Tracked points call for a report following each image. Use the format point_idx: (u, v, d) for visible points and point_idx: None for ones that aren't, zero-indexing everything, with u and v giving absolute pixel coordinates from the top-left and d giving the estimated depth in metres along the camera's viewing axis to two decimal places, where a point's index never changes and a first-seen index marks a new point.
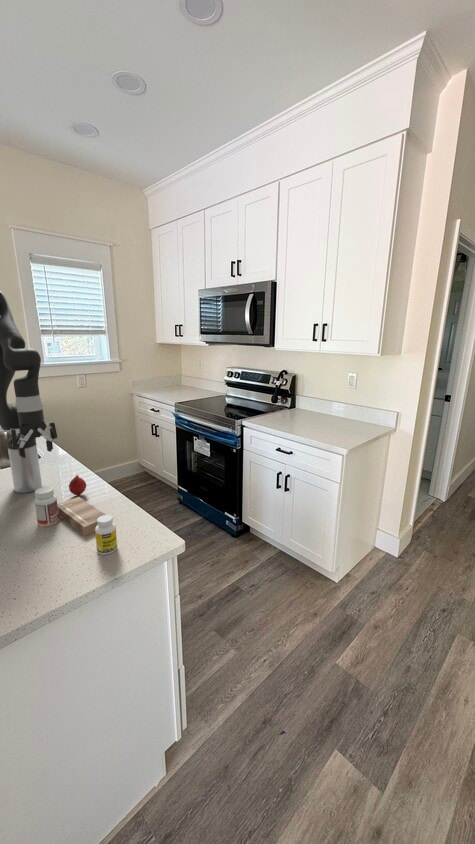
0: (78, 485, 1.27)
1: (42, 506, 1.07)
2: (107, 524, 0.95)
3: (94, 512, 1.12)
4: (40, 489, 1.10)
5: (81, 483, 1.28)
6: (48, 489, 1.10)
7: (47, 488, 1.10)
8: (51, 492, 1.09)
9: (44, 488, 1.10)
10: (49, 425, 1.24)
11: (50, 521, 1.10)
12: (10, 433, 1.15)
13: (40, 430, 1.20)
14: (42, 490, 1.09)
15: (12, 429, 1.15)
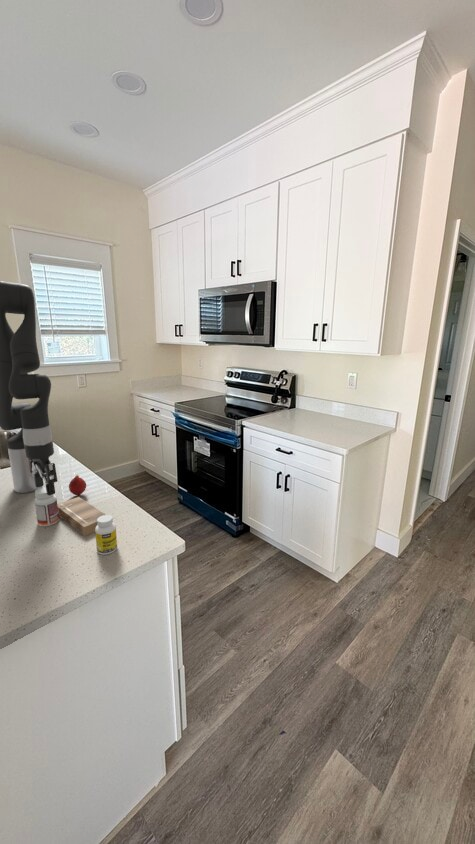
0: (78, 485, 1.27)
1: (42, 506, 1.07)
2: (107, 524, 0.95)
3: (94, 512, 1.12)
4: (40, 489, 1.10)
5: (81, 483, 1.28)
6: None
7: None
8: None
9: (44, 488, 1.10)
10: None
11: (50, 521, 1.10)
12: (51, 468, 1.03)
13: None
14: (42, 490, 1.09)
15: (51, 463, 1.03)
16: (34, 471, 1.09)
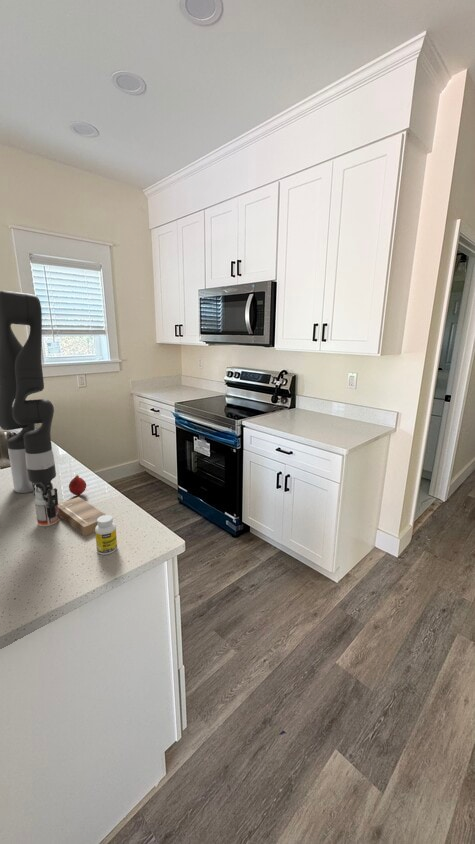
0: (78, 485, 1.27)
1: (42, 506, 1.07)
2: (107, 524, 0.95)
3: (94, 512, 1.12)
4: None
5: (81, 483, 1.28)
6: None
7: None
8: None
9: None
10: None
11: (50, 521, 1.10)
12: (53, 494, 1.05)
13: None
14: None
15: (53, 489, 1.05)
16: None
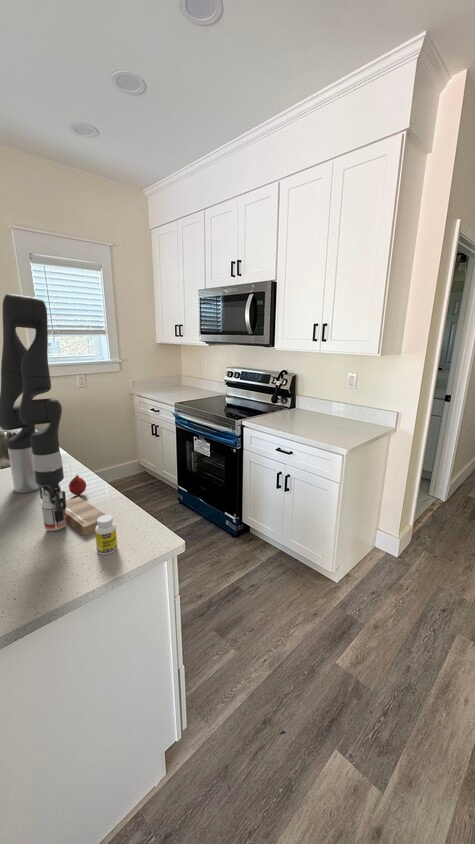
0: (78, 485, 1.27)
1: (49, 510, 1.04)
2: (107, 524, 0.95)
3: (94, 512, 1.12)
4: None
5: (81, 483, 1.28)
6: None
7: None
8: None
9: None
10: None
11: (57, 525, 1.06)
12: (61, 497, 1.01)
13: None
14: None
15: None
16: None
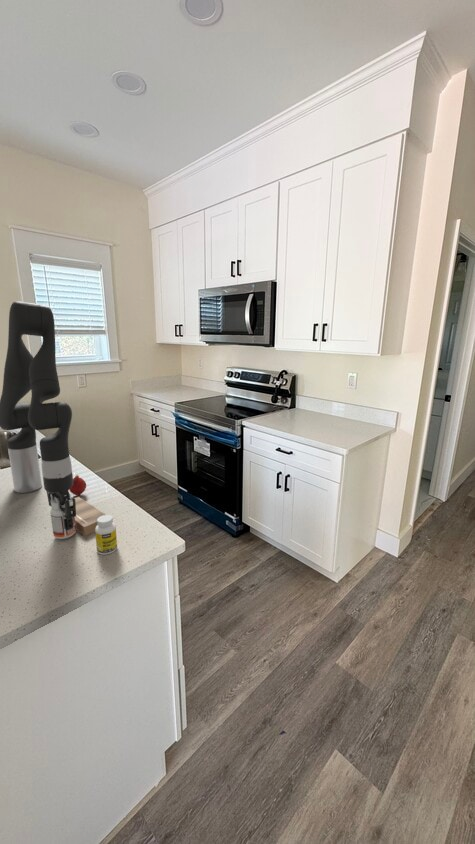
0: (78, 485, 1.27)
1: (58, 517, 1.00)
2: (107, 524, 0.95)
3: (94, 512, 1.12)
4: None
5: (81, 483, 1.28)
6: None
7: None
8: None
9: None
10: None
11: (67, 533, 1.02)
12: (71, 504, 0.97)
13: None
14: None
15: (71, 499, 0.97)
16: None
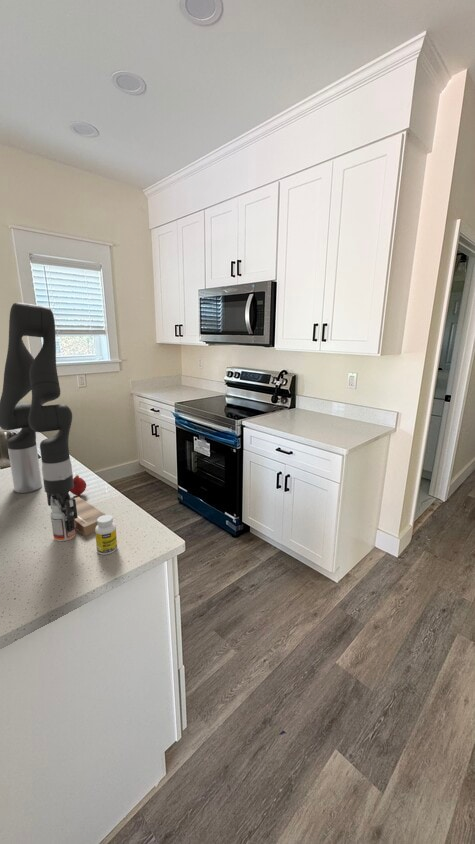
0: (78, 485, 1.27)
1: (58, 520, 1.00)
2: (107, 524, 0.95)
3: (94, 512, 1.12)
4: None
5: (81, 483, 1.28)
6: None
7: None
8: None
9: None
10: None
11: (67, 535, 1.02)
12: (71, 505, 0.97)
13: None
14: None
15: (71, 499, 0.98)
16: None
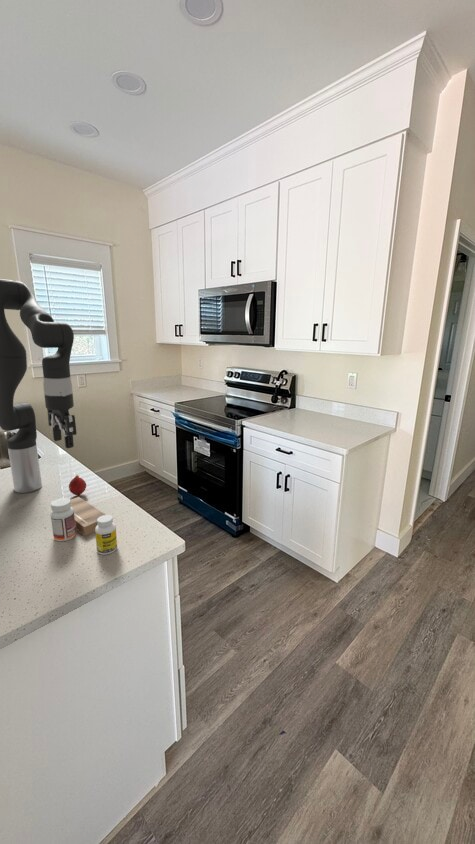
0: (78, 485, 1.27)
1: (58, 520, 1.00)
2: (107, 524, 0.95)
3: (94, 512, 1.12)
4: (56, 501, 1.02)
5: (81, 483, 1.28)
6: (65, 501, 1.02)
7: (64, 500, 1.03)
8: (68, 504, 1.02)
9: (61, 500, 1.03)
10: None
11: (67, 535, 1.02)
12: (70, 420, 1.01)
13: None
14: (59, 502, 1.02)
15: (71, 415, 1.02)
16: (53, 424, 1.07)
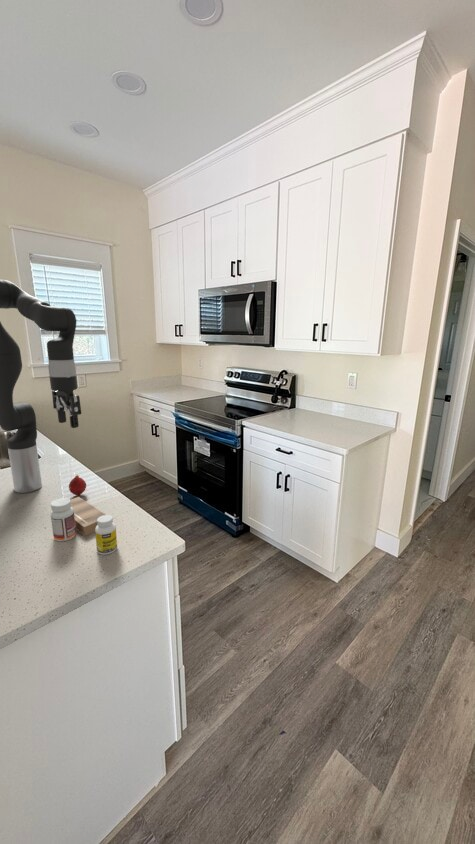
0: (78, 485, 1.27)
1: (58, 520, 1.00)
2: (107, 524, 0.95)
3: (94, 512, 1.12)
4: (56, 501, 1.02)
5: (81, 483, 1.28)
6: (65, 501, 1.02)
7: (64, 500, 1.03)
8: (68, 504, 1.02)
9: (61, 500, 1.03)
10: None
11: (67, 535, 1.02)
12: (75, 400, 1.06)
13: None
14: (59, 502, 1.02)
15: (76, 395, 1.06)
16: (58, 406, 1.12)
